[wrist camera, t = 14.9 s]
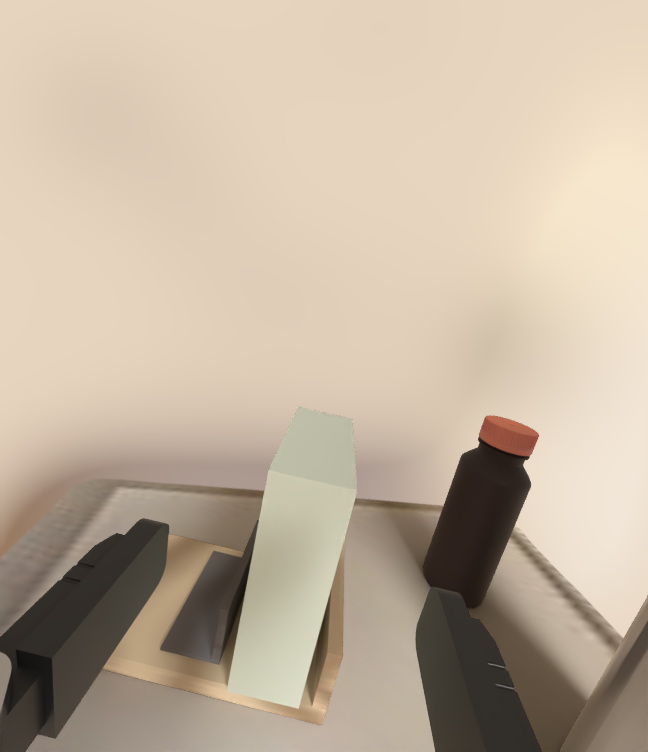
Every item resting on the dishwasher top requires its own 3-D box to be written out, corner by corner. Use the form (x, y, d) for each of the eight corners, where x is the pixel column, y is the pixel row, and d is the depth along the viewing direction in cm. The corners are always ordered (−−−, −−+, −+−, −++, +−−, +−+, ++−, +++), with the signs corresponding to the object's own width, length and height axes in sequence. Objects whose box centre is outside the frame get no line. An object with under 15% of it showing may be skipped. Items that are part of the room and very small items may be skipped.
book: (314, 571, 31) (352, 418, 27) (298, 708, 21) (357, 490, 17) (266, 560, 31) (298, 406, 28) (226, 691, 21) (268, 470, 17)
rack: (330, 585, 32) (344, 533, 30) (321, 725, 21) (342, 656, 20) (164, 544, 32) (169, 491, 31) (73, 661, 22) (76, 589, 20)
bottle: (447, 614, 32) (515, 438, 27) (411, 559, 38) (461, 409, 33) (496, 606, 34) (567, 442, 29) (455, 555, 40) (508, 414, 35)
